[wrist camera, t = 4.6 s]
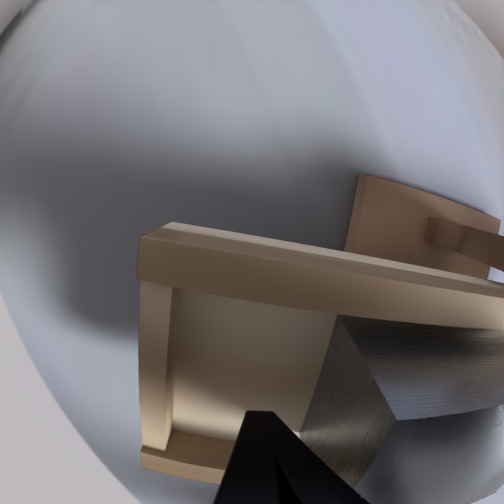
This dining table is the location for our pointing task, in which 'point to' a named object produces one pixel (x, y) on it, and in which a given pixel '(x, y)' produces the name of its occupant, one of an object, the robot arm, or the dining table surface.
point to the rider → (410, 411)
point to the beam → (262, 331)
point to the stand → (422, 229)
